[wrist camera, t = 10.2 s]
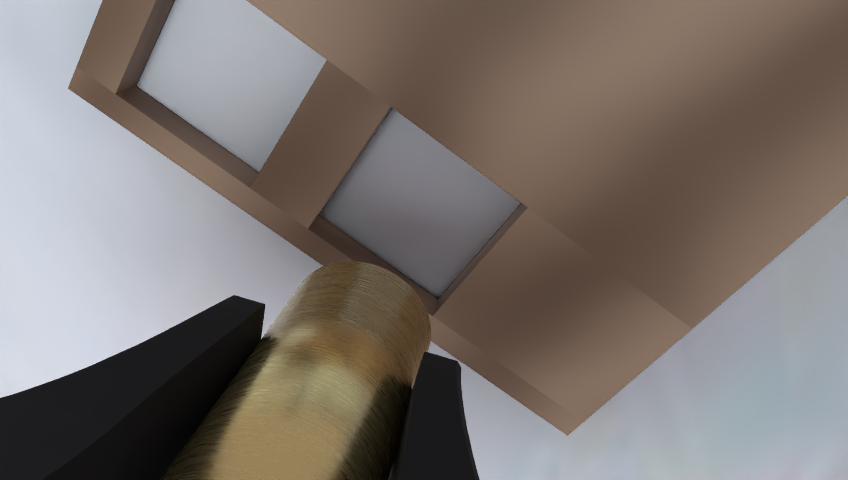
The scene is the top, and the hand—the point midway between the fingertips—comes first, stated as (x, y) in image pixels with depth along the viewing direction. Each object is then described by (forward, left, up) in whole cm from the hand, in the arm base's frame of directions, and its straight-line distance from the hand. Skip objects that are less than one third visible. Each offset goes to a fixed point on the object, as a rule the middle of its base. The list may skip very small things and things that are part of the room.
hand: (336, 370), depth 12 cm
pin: (0, 0, -2) cm, 2 cm away
